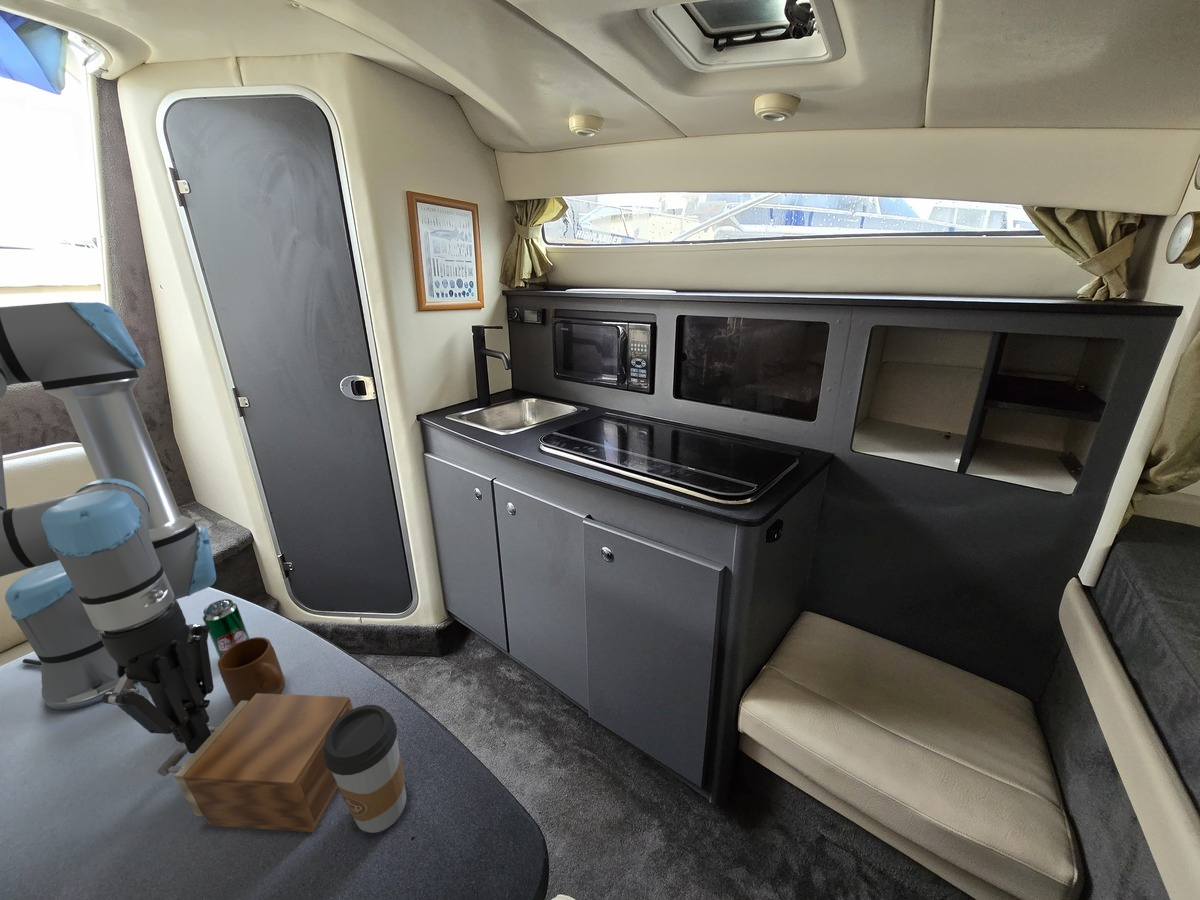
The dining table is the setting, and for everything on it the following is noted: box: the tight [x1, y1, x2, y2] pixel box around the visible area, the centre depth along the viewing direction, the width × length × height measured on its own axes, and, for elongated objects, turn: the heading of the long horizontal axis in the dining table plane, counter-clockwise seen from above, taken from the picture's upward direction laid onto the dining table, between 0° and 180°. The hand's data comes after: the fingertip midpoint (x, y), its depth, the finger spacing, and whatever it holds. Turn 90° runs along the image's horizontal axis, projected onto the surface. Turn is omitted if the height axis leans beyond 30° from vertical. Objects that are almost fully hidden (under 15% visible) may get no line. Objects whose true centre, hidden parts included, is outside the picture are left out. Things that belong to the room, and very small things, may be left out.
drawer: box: [156, 701, 249, 817], centre depth 69 cm, size 19×11×8 cm, turn 86°
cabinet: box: [184, 693, 354, 833], centre depth 69 cm, size 15×13×10 cm
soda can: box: [202, 598, 250, 659], centre depth 91 cm, size 5×5×12 cm
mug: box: [217, 636, 286, 708], centre depth 82 cm, size 12×8×9 cm, turn 63°
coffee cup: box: [324, 704, 407, 834], centre depth 64 cm, size 8×8×15 cm
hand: (202, 748), depth 69 cm, fingers closed
